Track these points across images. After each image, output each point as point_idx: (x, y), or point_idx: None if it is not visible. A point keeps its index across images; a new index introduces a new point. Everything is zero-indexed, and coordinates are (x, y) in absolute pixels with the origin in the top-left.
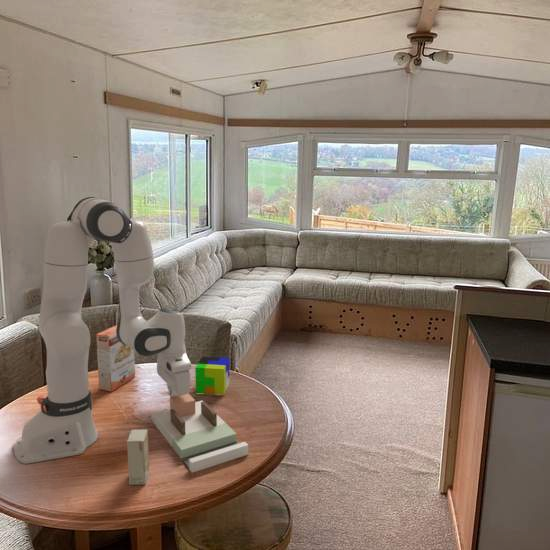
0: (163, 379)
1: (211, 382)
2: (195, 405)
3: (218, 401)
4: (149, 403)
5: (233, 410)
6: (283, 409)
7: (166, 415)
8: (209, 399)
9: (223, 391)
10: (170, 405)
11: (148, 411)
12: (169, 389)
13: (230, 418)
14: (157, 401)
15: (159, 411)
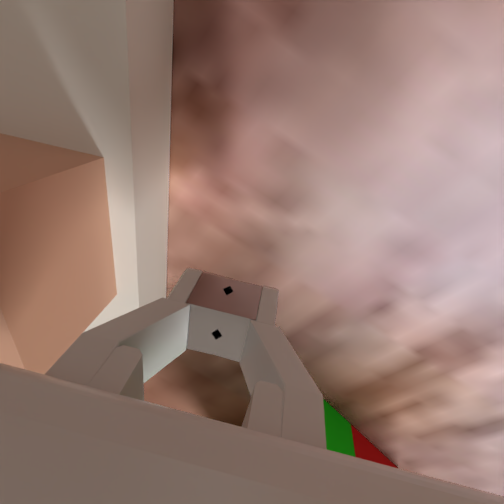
0: (423, 497)
1: None
2: (97, 321)
3: (189, 400)
4: (499, 157)
5: None
6: None
7: (9, 59)
8: (229, 395)
9: None
10: (49, 167)
11: (382, 58)
12: (256, 342)
13: None
14: (456, 226)
15: (122, 43)
